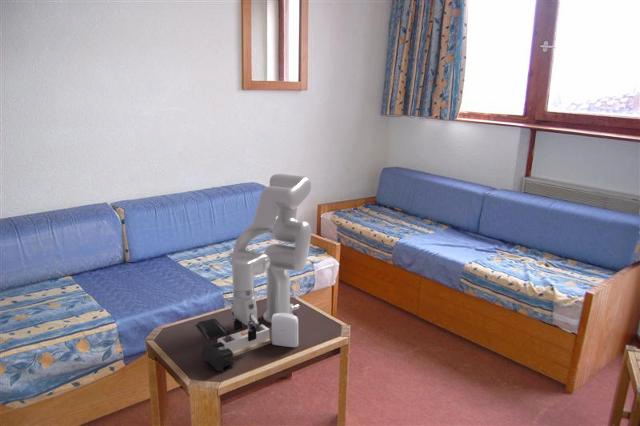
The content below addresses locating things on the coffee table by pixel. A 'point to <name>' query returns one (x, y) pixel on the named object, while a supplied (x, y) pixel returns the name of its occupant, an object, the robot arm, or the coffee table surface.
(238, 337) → the white long block
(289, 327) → the photo printer
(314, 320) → the coffee table surface
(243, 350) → the board
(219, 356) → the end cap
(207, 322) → the phone
